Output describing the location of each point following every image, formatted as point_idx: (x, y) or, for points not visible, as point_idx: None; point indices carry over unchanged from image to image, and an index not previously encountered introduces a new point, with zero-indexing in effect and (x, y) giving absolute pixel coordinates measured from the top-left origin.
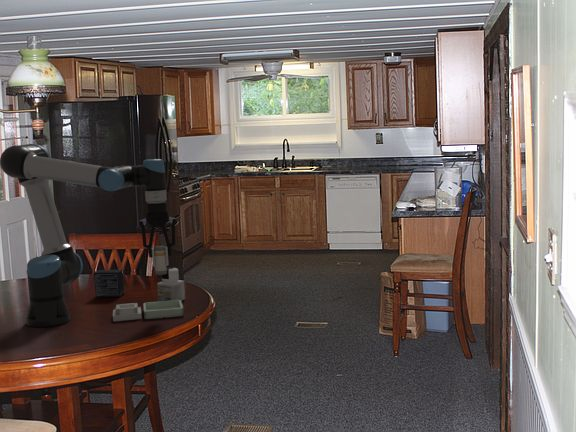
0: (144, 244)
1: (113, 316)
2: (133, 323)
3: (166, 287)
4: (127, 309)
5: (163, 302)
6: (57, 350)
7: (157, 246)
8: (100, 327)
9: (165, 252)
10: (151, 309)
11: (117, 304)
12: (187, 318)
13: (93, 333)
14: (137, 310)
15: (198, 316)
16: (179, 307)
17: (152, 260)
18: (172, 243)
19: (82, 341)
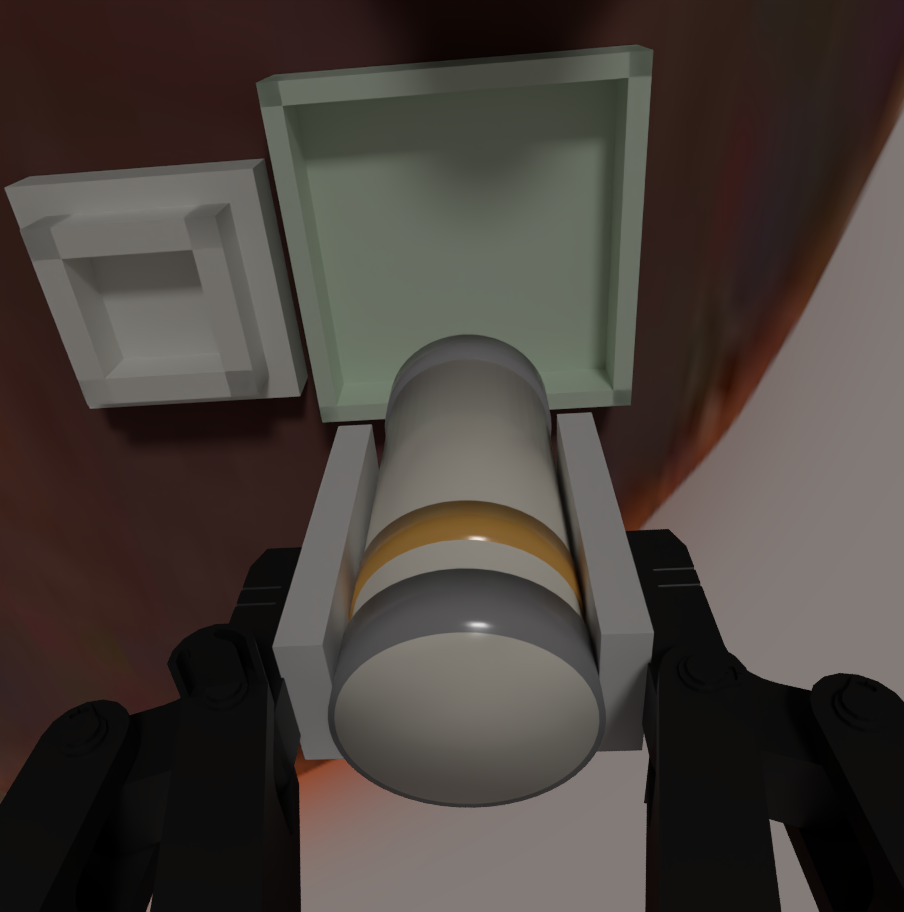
0: (112, 869)
1: (96, 407)
2: (271, 469)
3: None
4: (180, 394)
5: (465, 88)
6: None
7: (416, 681)
8: (72, 501)
9: (582, 617)
10: (352, 142)
11: (31, 229)
12: (635, 448)
13: (81, 599)
14: (263, 384)
15: (719, 420)
16: (613, 144)
17: (325, 475)
18: (798, 826)
19: (81, 697)
